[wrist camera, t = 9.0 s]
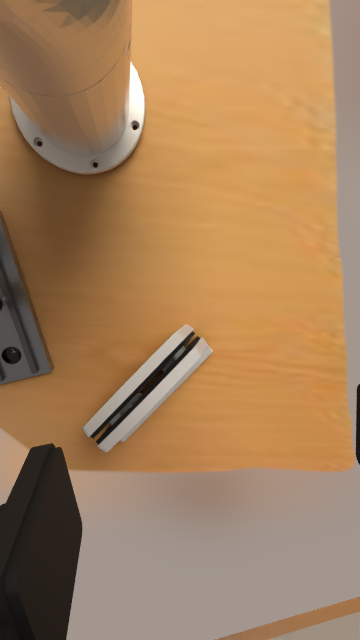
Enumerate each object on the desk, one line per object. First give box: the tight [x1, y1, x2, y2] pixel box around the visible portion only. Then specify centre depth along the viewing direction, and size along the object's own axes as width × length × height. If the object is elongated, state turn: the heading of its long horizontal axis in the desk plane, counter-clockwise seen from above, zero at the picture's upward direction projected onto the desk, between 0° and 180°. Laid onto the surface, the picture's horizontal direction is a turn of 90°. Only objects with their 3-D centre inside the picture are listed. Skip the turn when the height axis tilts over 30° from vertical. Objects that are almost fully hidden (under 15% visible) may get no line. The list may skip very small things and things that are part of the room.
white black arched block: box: [82, 324, 213, 453], centre depth 37 cm, size 17×5×10 cm, turn 135°
